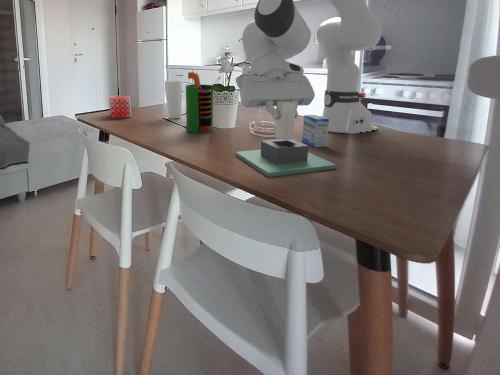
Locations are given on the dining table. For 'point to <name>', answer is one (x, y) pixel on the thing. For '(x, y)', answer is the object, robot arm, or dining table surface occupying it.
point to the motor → (199, 106)
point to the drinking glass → (173, 97)
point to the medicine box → (315, 130)
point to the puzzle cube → (120, 106)
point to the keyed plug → (285, 120)
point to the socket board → (284, 158)
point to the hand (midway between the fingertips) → (286, 117)
